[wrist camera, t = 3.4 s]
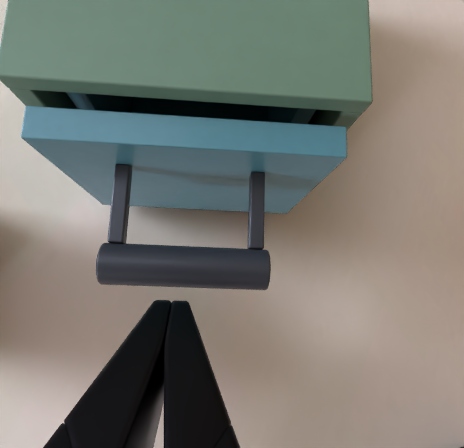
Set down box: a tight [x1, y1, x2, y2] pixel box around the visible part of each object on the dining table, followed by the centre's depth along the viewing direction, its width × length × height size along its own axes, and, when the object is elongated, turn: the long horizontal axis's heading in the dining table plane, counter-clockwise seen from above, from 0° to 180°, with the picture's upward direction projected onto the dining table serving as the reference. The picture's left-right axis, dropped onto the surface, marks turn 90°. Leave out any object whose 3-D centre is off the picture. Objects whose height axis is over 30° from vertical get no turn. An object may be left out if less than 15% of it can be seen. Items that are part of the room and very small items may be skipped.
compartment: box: [21, 92, 347, 290], centre depth 18 cm, size 18×11×10 cm, turn 178°
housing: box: [0, 0, 373, 131], centre depth 19 cm, size 15×13×12 cm
